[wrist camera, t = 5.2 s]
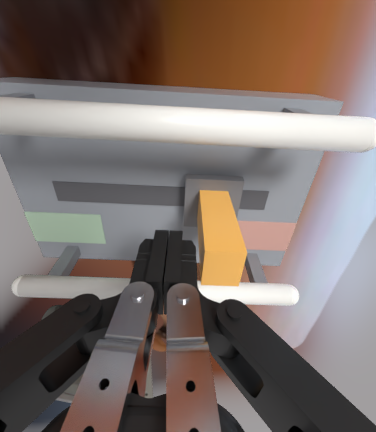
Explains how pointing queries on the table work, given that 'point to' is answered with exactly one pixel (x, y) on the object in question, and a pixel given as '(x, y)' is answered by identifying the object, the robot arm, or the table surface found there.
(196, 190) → the breaker toggle
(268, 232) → the breaker panel
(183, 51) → the table surface
